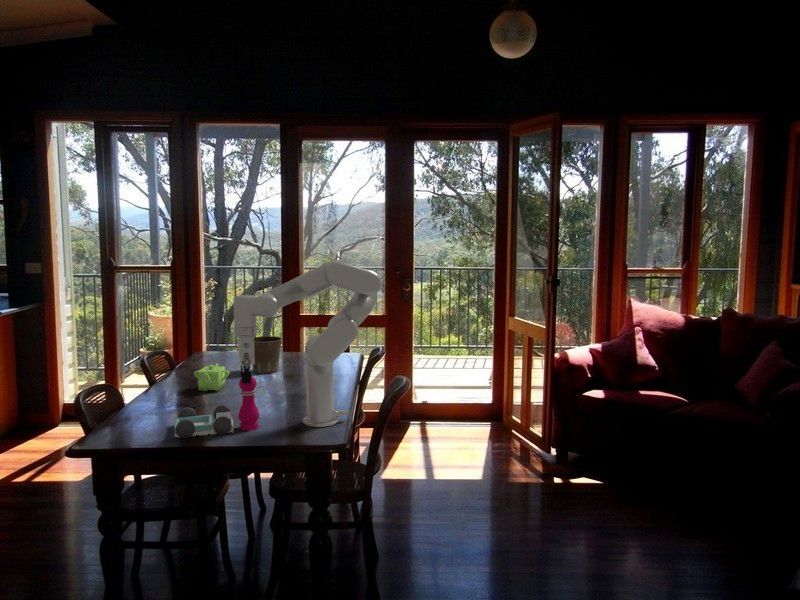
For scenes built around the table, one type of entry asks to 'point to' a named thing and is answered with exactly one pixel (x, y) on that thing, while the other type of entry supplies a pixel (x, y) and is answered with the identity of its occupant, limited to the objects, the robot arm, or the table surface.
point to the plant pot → (266, 354)
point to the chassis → (203, 422)
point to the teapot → (211, 377)
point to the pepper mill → (248, 406)
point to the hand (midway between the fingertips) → (246, 379)
